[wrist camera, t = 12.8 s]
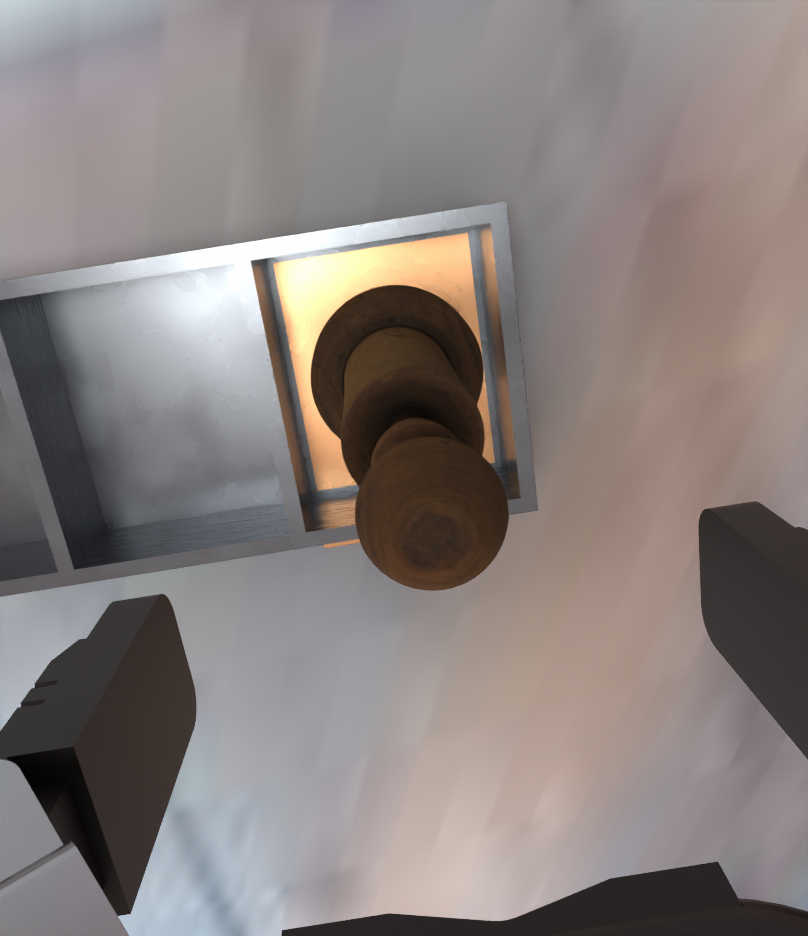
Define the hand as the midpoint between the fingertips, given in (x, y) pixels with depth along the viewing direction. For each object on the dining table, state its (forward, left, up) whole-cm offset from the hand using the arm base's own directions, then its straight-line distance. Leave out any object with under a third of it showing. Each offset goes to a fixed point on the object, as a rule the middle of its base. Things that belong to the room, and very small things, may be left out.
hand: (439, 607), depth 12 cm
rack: (+9, 0, -22) cm, 23 cm away
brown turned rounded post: (0, 0, -21) cm, 21 cm away
